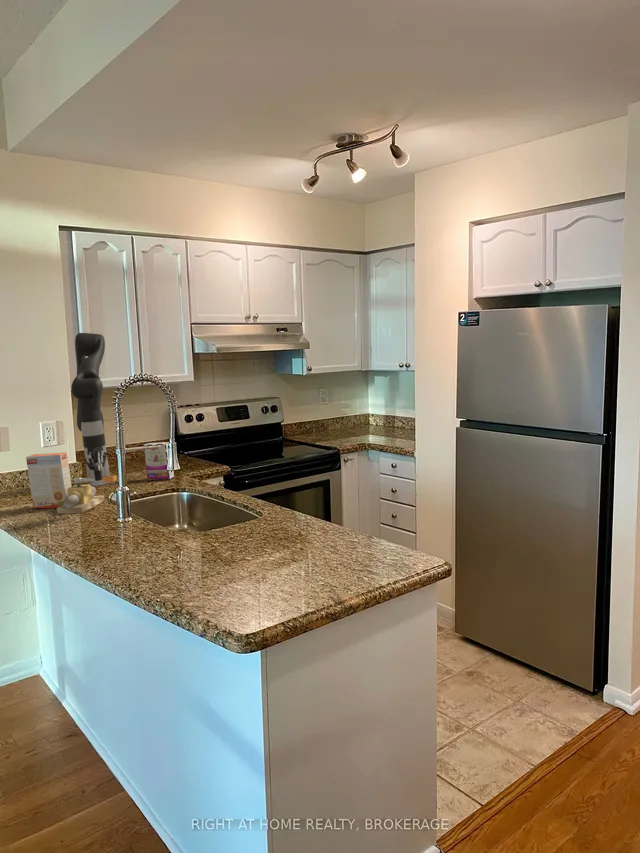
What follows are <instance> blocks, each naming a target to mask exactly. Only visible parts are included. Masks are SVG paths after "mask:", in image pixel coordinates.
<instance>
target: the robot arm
mask: <svg viewBox="0 0 640 853" xmlns="http://www.w3.org/2000/svg"><path fill="white" fill-rule="evenodd" d="M74 348H75V349H74V350H75V359H76V376H75V378H74V379H73V380H72V383H71V386H70V387H71V389H70V390H71V394H72V396H73V397H74V398H75V399H77V410H76V425H77V428H78V431H80V432H81V435H82V444H83V449H84V459H83V460H84V463H85V467H86V475H87V476H86V477H87V478H95V480H96V481H87V482H88V483H87V485H88V484H90V486H92V487H97V486H104V485H108V484H110V483H111V482H103V481H100V480H102V479H103V478H102V477H104V476H111V474H110V466H109V461H108V452H107V445H106V436H105V426H104V425H105V424H104V422H105V421H104V415H103V412H102V410H101V401H102V395H103V389H104V388H103V387H104V384H103V382H102V380H101V377H100V366H101V363H102V361H103V358H104V355H105V350H106V341H105V337H104V336H103V334H100V333H93V332H92V333H90V332H79V333H77V334H76V336H75V338H74Z"/></svg>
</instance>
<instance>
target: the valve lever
mask: <svg viewBox="0 0 640 853" xmlns="http://www.w3.org/2000/svg"><path fill="white" fill-rule="evenodd" d="M102 478H103V479H102V480H100V481H103V482H110V483H112V482H113V483H114V482H115V481H117V480H118V479H117V478H118V477H117V475H112V474H111V475H110V476H104V477H102ZM73 481H74V485H77V484H81V485H82V484H83V482H88V481H96V480H95V478H88V477H81V476H79V477H78V476H77V477H74V479H73Z"/></svg>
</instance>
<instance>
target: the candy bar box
mask: <svg viewBox="0 0 640 853" xmlns="http://www.w3.org/2000/svg"><path fill="white" fill-rule="evenodd" d="M169 442H170V441H168V442H167V441H166V442H164V441H163V442H162V441H161V442H148V443H145V444H143V453H144V460H145V461H144V462H145V469H146V470H145V471H146V478H148V479H170V480H172V479H174V478H175V473H174V472H175V471H172V472H171V471H168V470H167V463H168V443H169ZM158 445H161V447H158V448H153V449H144V447H149V446H158ZM173 477H174V478H173ZM171 478H172V479H171ZM148 479H147V480H148Z"/></svg>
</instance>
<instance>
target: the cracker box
mask: <svg viewBox="0 0 640 853" xmlns="http://www.w3.org/2000/svg"><path fill="white" fill-rule="evenodd" d="M25 458H26V466H27V474H28V480H29V488H30V494H31V496H30V497H31V501H32V502H31V503H32V508H41V509H55V507H57V508H58V507H60V506H62V505H64V499H65V498H67V497H68V488H70V487H73V486H72V478H71V472H70V464H69V457H68V452H66V451H64V452H47V453H36V454H34V453H33V454H30V455H29V456H26V457H25ZM57 508H56V509H57Z"/></svg>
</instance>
